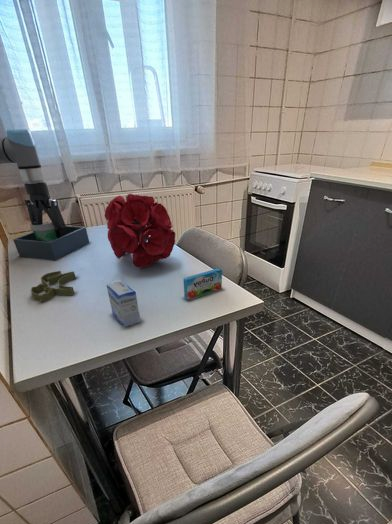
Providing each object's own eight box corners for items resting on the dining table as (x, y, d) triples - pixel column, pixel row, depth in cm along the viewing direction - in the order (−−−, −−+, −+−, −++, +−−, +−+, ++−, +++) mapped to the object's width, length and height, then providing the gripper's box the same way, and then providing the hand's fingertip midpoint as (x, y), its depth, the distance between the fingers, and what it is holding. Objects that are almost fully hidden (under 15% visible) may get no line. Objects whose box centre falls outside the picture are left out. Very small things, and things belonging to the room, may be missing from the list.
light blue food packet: (187, 300, 82) (186, 280, 78) (184, 298, 83) (183, 278, 79) (221, 289, 87) (222, 269, 83) (218, 287, 88) (218, 267, 84)
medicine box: (112, 314, 77) (105, 284, 72) (128, 309, 79) (122, 279, 74) (124, 327, 72) (118, 295, 67) (141, 321, 74) (135, 290, 69)
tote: (19, 256, 116) (12, 239, 112) (56, 240, 133) (52, 224, 129) (55, 260, 112) (49, 242, 108) (89, 242, 128) (85, 227, 124)
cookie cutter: (73, 297, 86) (71, 291, 85) (29, 304, 83) (27, 297, 82) (77, 274, 100) (75, 268, 98) (39, 279, 97) (37, 273, 96)
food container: (45, 253, 116) (36, 227, 110) (38, 250, 120) (29, 224, 114) (73, 245, 123) (66, 220, 117) (66, 242, 127) (58, 217, 121)
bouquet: (104, 281, 111) (132, 261, 85) (82, 217, 107) (105, 176, 81) (154, 270, 122) (192, 249, 96) (136, 212, 118) (171, 174, 92)
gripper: (64, 180, 107) (80, 244, 121) (21, 180, 113) (42, 240, 127) (49, 183, 102) (69, 250, 115) (5, 183, 107) (29, 246, 121)
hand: (54, 245), depth 121 cm, fingers closed on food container, 7 cm apart
